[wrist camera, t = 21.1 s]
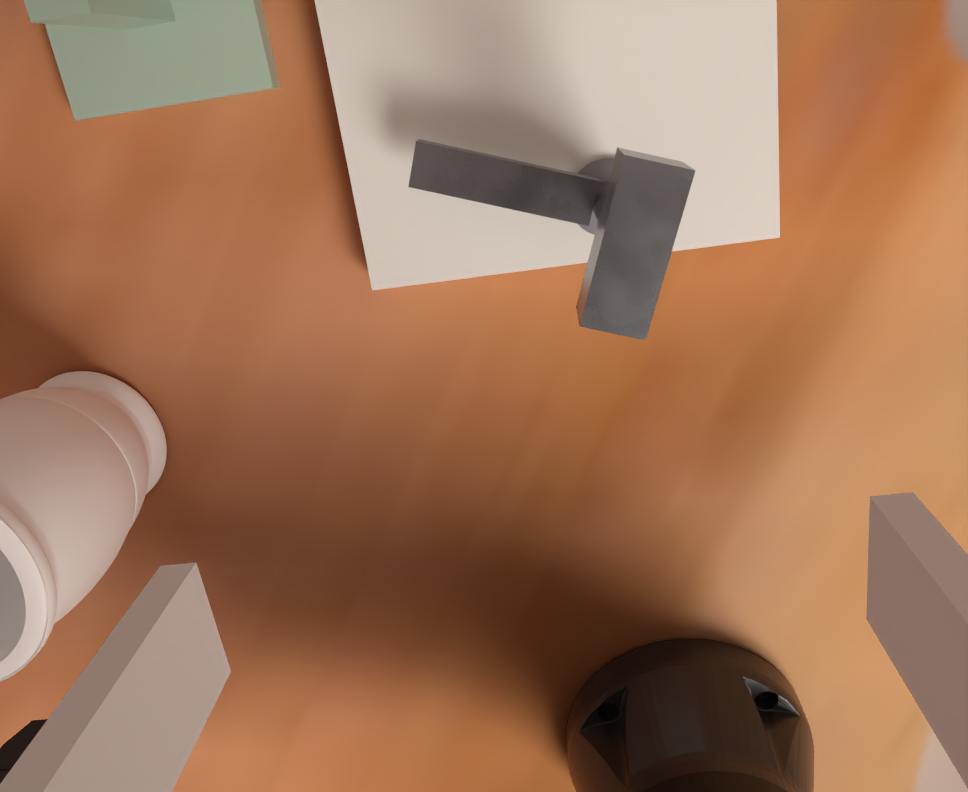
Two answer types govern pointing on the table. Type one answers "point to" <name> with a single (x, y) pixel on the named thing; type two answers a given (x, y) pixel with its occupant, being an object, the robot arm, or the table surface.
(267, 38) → the cover
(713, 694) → the robot arm
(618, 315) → the grey angled block piece
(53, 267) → the table surface
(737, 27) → the lock base
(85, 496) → the jar
